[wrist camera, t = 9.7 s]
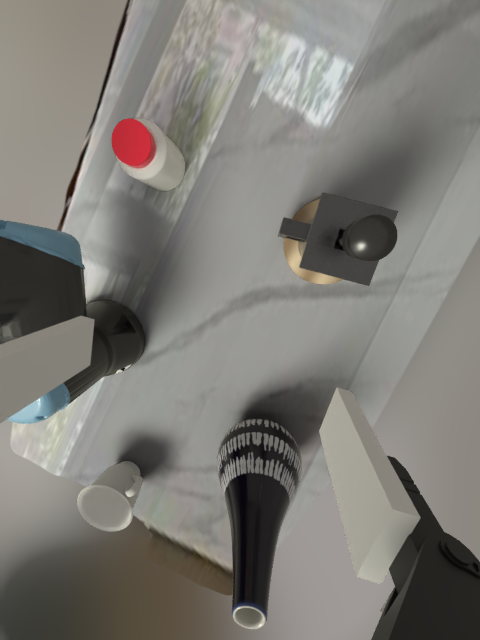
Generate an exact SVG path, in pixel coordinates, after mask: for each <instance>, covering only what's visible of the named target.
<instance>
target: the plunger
mask: <svg viewBox="0 0 480 640" xmlns="http://www.w3.org/2000/svg"><path fill="white" fill-rule="evenodd" d="M396 241H397V229H396V226H395V224H394V223H393V222H392V220H390V219H389V218H388V217H386V216H383V215H370V216H367V217H364V218H361V219H358V220H355V221H353V222H352V223H351V224H349V225H348V227H347V228H346V229H345V230H343V229H340V230H339V233H338V236H337V239H336V242H335V245H334V248H335V249H339V250H342V251H345V253H346V254H347V255H348V256H350V257H351V258H353V259H357V260H364V261H376V260H380V259H382V258H384V257H385V256H387V255H388V254H389V253H390V252H391V251H392V249H393V248H394V246H395V244H396Z"/></svg>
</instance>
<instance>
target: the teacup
mask: <svg viewBox="0 0 480 640" xmlns="http://www.w3.org/2000/svg"><path fill="white" fill-rule="evenodd" d="M142 482H143V479H142V477H141V476H140V469H139V468H138V466H137V465H136V464H134V463H133V462H130V461H123V462H121V463H120V464H115V465H113V466H111V467H109V468H108V469H106V470H105V471H104V472H103V473H102V474H101V475H100V476H99V478H98V479H97V480H96V481H95V482H94V483H93V484H92V485H91V486H88V487H86V488H84V489H83V490H82V491H81V492H80V494H79V496H78V500H77V503H78V509H79V512H80V513H81V515H82V516H83V518H84V519H85V520H86V521H87V522H88V523H89V524H91V525H92V526H94V527H96V528H98V529H101V530H104V531H118V530H122V529H124V528H126V527H127V526H128V525H129V524H130V522H131V520H132V517H133V511H132V510H133V507H134V504H135V502H136V499H137V497H138V494H139V491H140V488H141V485H142Z"/></svg>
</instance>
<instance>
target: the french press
mask: <svg viewBox="0 0 480 640" xmlns="http://www.w3.org/2000/svg"><path fill="white" fill-rule="evenodd" d="M397 213H398V211H394V210H390V209H386V208H382V207H378V206H374V205H370V204H366V203H362V202H358V201H354V200H350V199H346V198H342V197H338V196H334V195H330V194H326V193H322V194H321V197H320V200H319V204H318V207H317V210H316V213H315V216H314V217H313V218H312V219H311V220H310V221H309V222H307V223H304V222H300V221H296V220H292V219H288V218H283V221H282V223H281V227H280V231H279V234H278V236H280V237H283V238H287V239H291V240H295V241H298V249H299V253H300V255H301V258H302V259H301V262H300V265H299V268H302V269H306V270H310V271H314V272H318V273H322V274H325V275H328V276H332V277H336V278H340V279H345V280H348V281H352V282H356V283H360V284H364V285H367V286H369V284H370V282H371V279H372V277H373V274H374V272H375V269H376V266H377V264H378V261H379V260H376V261H364V260H357V259H353V258H351V257H350V256H348V255H347V254H346V253H345V251H342V250H339V249H335V248H334V245H335V242H336V239H337V236H338V233H339V230H340V229H343V230H345V229H346V228H347V227H348V225H349V224H351V223H352V222H353V221H355V220H358V219H361V218H364V217H367V216H370V215H383V216H386V217H388V218H389V219H390V220H392V222H393V223H394V220H395V218H396V215H397Z"/></svg>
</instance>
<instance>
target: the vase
mask: <svg viewBox="0 0 480 640" xmlns="http://www.w3.org/2000/svg"><path fill="white" fill-rule="evenodd" d="M217 471H218V477H219V481H220V484H221V488H222V491H223V495H224V498H225V501H226V505H227V509H228V514H229V519H230V526H231V536H232V555H233V598H232V599H233V600H232V616H233V619H234V620H235V621H236V623H237V624H239V625H240V626H242V627H244V628H248V629H257V628H260V627H262V626H263V625H264V624H265V623H266V621H267V613H268V612H267V611H268V600H269V590H270V581H271V574H272V568H273V562H274V556H275V550H276V545H277V541H278V536H279V532H280V529H281V525H282V523H283V520H284V517H285V515H286V512H287V510H288V508H289V506H290V504H291V502H292V499H293V497H294V495H295V493H296V491H297V488H298V485H299V483H300V478H301V471H302V464H301V455H300V451H299V447H298V445H297V443H296V441H295V439H294V438H293V436H292V435H291V434H290V433H289V432H288V430H287V429H285V428H284V427H283V426H282V425H280V424H278V423H277V422H275V421H272V420H269V419H265V418H251V419H246V420H243V421H241V422H239V423H238V424H236V425H235V426H233V427H232V428H231V429H230V430H229V431H228V432H227V434H226V435H225V436H224V438H223V440H222V442H221V445H220V447H219V452H218V457H217Z"/></svg>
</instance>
